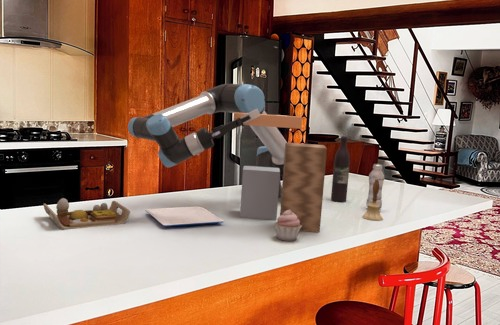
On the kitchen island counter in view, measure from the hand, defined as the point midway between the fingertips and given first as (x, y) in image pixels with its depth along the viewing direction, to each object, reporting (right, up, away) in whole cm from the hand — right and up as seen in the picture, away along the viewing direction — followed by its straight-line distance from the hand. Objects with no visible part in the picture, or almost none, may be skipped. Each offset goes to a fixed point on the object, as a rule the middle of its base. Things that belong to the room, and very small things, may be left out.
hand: (258, 112), depth 180 cm
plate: (-27, -39, +5) cm, 48 cm away
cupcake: (+9, -43, -11) cm, 46 cm away
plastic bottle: (+51, -39, +41) cm, 76 cm away
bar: (+3, -5, +1) cm, 6 cm away
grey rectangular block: (0, -39, +18) cm, 43 cm away
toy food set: (-60, -38, -4) cm, 71 cm away
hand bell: (+47, -41, +26) cm, 67 cm away
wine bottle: (+38, -36, +56) cm, 76 cm away
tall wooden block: (+15, -41, +5) cm, 44 cm away
